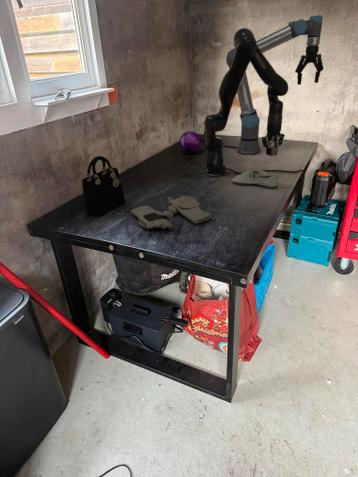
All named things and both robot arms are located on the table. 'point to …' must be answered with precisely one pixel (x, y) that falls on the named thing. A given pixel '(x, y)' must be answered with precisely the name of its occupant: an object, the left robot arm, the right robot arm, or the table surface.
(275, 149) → the metal block
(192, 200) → the pair of gloves
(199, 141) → the decorative orb
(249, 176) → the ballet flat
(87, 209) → the handbag
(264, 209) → the table surface
